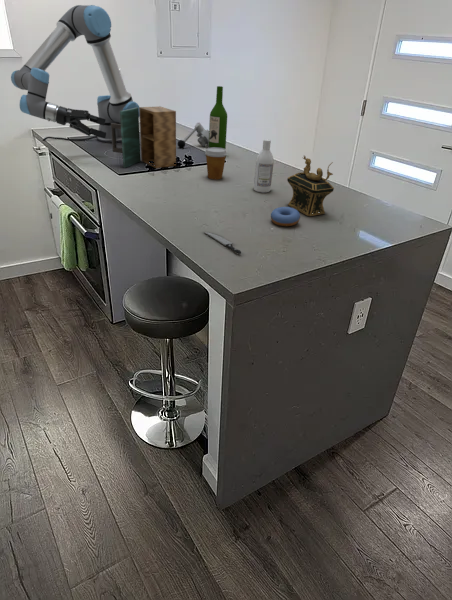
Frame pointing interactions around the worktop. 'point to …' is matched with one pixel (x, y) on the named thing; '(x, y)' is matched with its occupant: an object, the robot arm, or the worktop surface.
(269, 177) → the bath foam
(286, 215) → the doughnut
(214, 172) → the disposable coffee cup
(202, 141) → the mechanical valve
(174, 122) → the cabinet
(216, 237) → the chef's knife
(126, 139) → the door
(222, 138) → the wine bottle
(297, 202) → the decorative box
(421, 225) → the worktop surface
